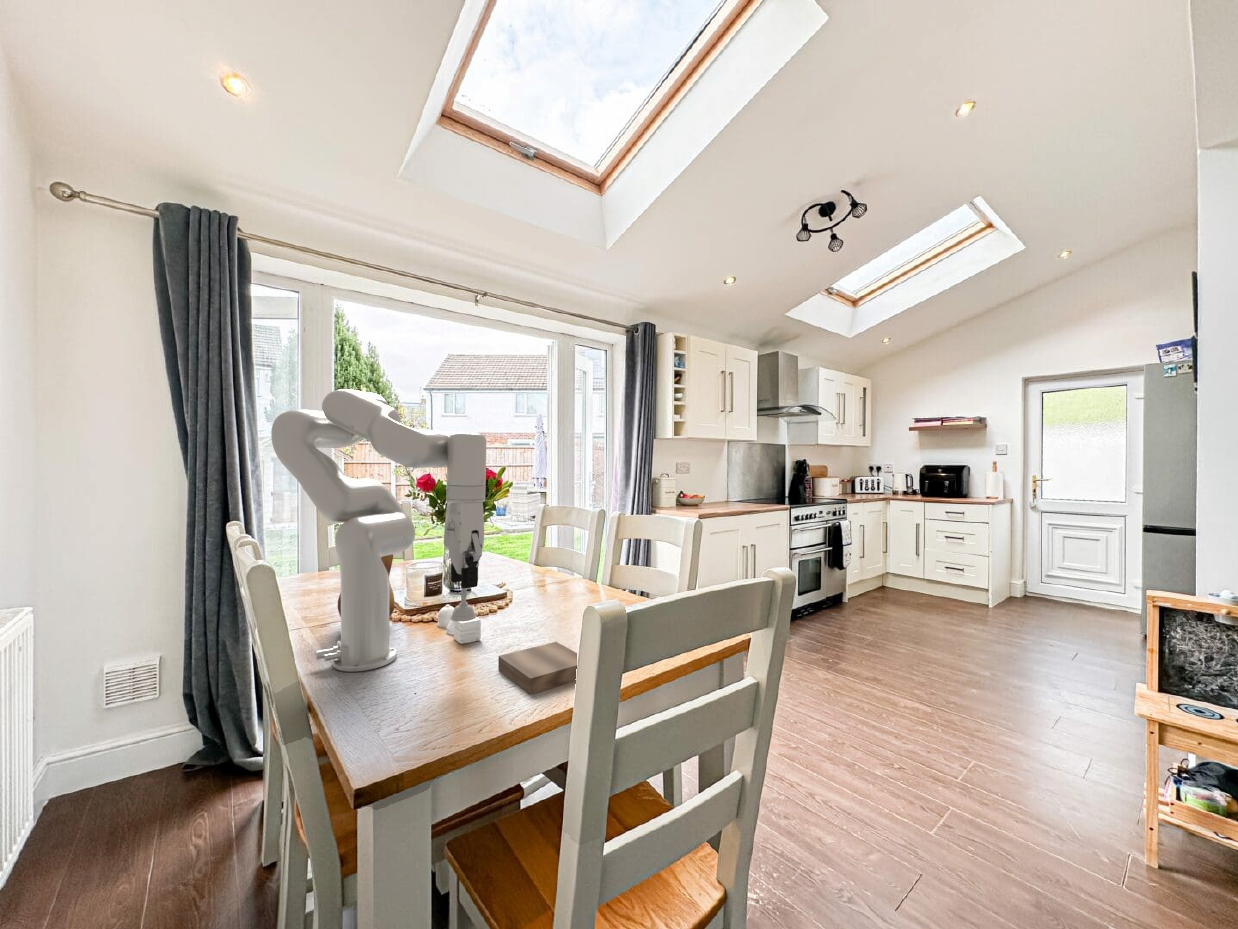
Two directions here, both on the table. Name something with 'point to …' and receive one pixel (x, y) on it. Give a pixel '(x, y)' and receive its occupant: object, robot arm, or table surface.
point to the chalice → (462, 610)
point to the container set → (459, 626)
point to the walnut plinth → (540, 667)
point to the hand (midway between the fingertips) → (463, 583)
